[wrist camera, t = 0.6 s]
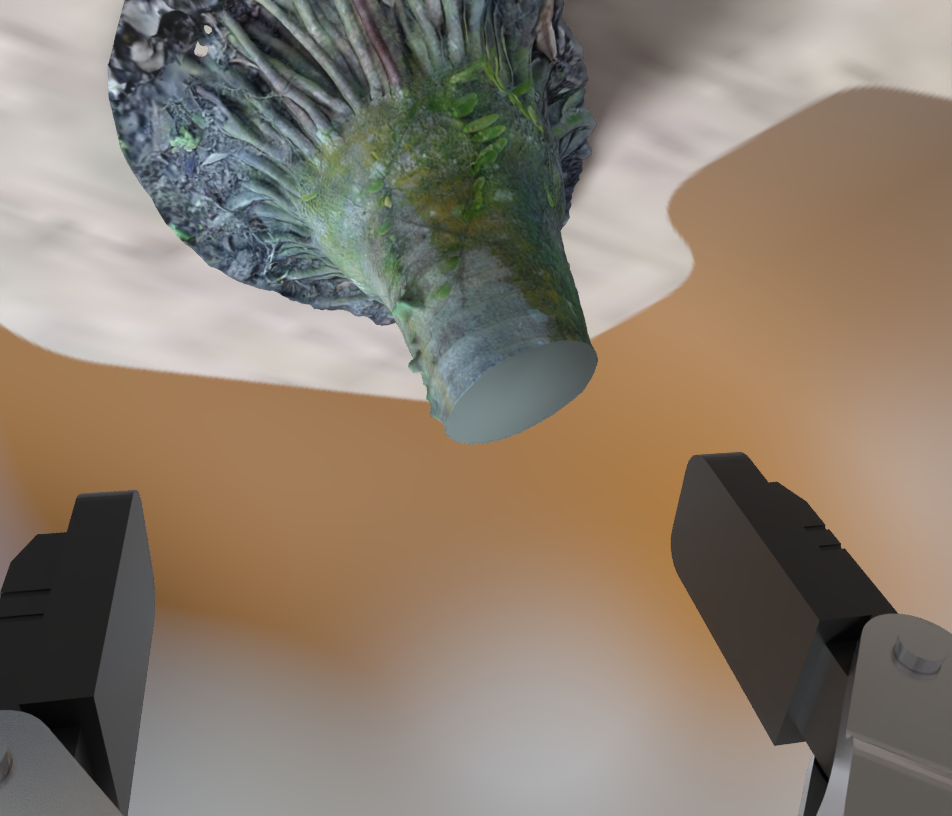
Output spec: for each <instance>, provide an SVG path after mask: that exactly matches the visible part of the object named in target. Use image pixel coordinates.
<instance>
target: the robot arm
mask: <svg viewBox="0 0 952 816" xmlns="http://www.w3.org/2000/svg"><path fill="white" fill-rule="evenodd" d="M671 552H672V559H673V563H674V566H675V569H676V572H677V574H678V576H679V578H680V579H681V581H682V583H683V584H684V586H685V588H686V590H687V592H688V593H689V595H690V597H691V599H692V601H693V602H694V604H695V606H696V608H697V609H698V611H699V613H700V615H701V617H702V618H703V620H704V622H705V624H706V625H707V627H708V629H709V631H710V632H711V634H712V636H713V638H714V640H715V641H716V643H717V645H718V646H719V648H720V650H721V652H722V654H723V656H724V657H725V659H726V661H727V663H728V664H729V666H730V668H731V670H732V671H733V673H734V675H735V677H736V679H737V680H738V682H739V684H740V685H741V687H742V689H743V691H744V693H745V694H746V696H747V698H748V700H749V702H750V703H751V705H752V707H753V709H754V710H755V712H756V714H757V716H758V717H759V719H760V721H761V723H762V725H763V726H764V728H765V730H766V732H767V734H768V735H769V737H770V739H771V740H772V742H773V744H774V745H775V746H776V745H783V744H791V743H798V742H805V741H806V742H807V744H808V746H809V747H810V749H811V751H812V752H813V756H812V758H811V761H810V763H809V766H808V769H807V773H806V779H805V783H804V789H803V793H802V799H801V804H800V809H799V814H798V816H952V634H951V633H950V632H948V631H947V630H945V629H943V628H941V627H940V626H938V625H936V624H934V623H932V622H929V621H927V620H924V619H922V618H918V617H915V616H911V615H905V614H898V613H897V612H896V611H895V609H894V608H893V607H892V606H891V604H890V603H889V602H888V601H887V599H886V598H885V597H884V596H883V595H882V593H881V592H880V591H879V590H878V589H877V587H876V586H875V585H874V584H873V582H872V581H871V580H870V579H869V577H868V576H867V575H866V574H865V573H864V572H863V570H862V569H861V568H860V566H859V565H858V564H857V563H856V562H855V560H854V559H853V558H852V557H851V555H850V554H849V553H848V552H847V551H846V549H841V543H840V542H839V541H838V540H837V538H836V537H835V536H834V535H833V534H832V532H831V531H830V530H829V529H828V530H826V529H825V524H824V523H823V521H822V520H821V519H820V518H819V517H818V515H817V514H816V513H815V512H814V510H813V509H812V508H811V507H810V505H809V504H808V503H807V502H806V501H805V500H803V499H802V498H800V497H799V496H797V495H796V494H794V493H793V492H791V491H790V490H788V489H787V488H786V487H784V486H783V485H781V484H780V483H778V482H770V483H768V481H767V480H766V479H765V477H764V476H763V475H762V474H761V472H760V471H759V470H758V469H757V467H756V466H755V465H754V464H753V462H752V461H751V460H750V458H749V457H748V456H747V455H746V454H744V453H742V452H734V453H717V454H703V455H694V456H693V457H691V459H690V460H689V462H688V464H687V468H686V472H685V476H684V481H683V485H682V489H681V494H680V498H679V502H678V507H677V511H676V516H675V520H674V524H673V529H672V534H671ZM0 595H1V597H0V816H127V815H128V808H129V801H130V794H131V786H132V779H133V772H134V765H135V756H136V750H137V742H138V735H139V728H140V721H141V713H142V706H143V698H144V691H145V684H146V677H147V670H148V662H149V655H150V648H151V640H152V633H153V626H154V617H155V586H154V576H153V569H152V563H151V557H150V551H149V545H148V539H147V533H146V527H145V520H144V514H143V509H142V502H141V498H140V495H139V492H138V491H137V490H128V491H113V492H99V493H82V494H79V495H78V496H77V498H76V501H75V505H74V509H73V513H72V516H71V519H70V523H69V526H68V530H67V532H64V533H51V534H38V535H36V536H35V537H34V538H33V539H32V541H30V543H29V544H28V545H27V546H26V547H25V548H24V549H23V550H22V551H21V552H20V553H19V554H18V555H17V556H16V557H15V558H14V559H13V560H12V562H11V563H10V566H9V569H8V572H7V575H6V577H5V581H4V583H3V587H2V589H1V592H0Z"/></svg>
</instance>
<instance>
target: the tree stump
mask: <svg viewBox="0 0 952 816" xmlns="http://www.w3.org/2000/svg"><path fill="white" fill-rule="evenodd" d="M563 5H564V1H563V0H125V1H124V5H123V8H122V12H121V16H120V20H119V24H118V27H117V31H116V36H115V40H114V45H113V49H112V53H111V57H110V61H109V64H108V89H109V100H110V104H111V108H112V113H113V117H114V121H115V125H116V130H117V134H118V138H119V143H120V148H121V150H122V152H123V154H124V157H125V159H126V161H127V163H128V164H129V166H130V168H131V170H132V171H133V173H134V174H135V176H136V177H137V179H138V181H139V182H140V184H141V185H142V186H143V188H144V189H145V190H146V192H147V193H148V194H149V195H150V197H151V198H152V200H153V202H154V204H155V206H156V208H157V210H158V211H159V213H160V215H161V216H162V218H163V219H164V221H165V223H166V224H167V225H168V226H169V227H170V228H171V229H172V230H173V231H174V232H175V233H176V235H177V236H178V237H179V238H180V239H181V240H182V241H183V242H184V243H185V244H186V245H188V246H189V247H191V248H192V249H193V250H194V251H195V252H196V253H197V254H198V255H199V256H200V257H202V258H203V260H204V261H205V262H206V263H207V264H208V265H209V266H211V267H214V268H217V269H219V270H221V271H222V272H223V273H225V274H226V275H228V276H229V277H231V278H233V279H235V280H237V281H239V282H242V283H244V284H248V285H251V286H254V287H256V288H259V289H264V290H269V291H271V290H273V291H275V292H278V293H280V294H281V295H282V296H285V297H287V298H289V299H290V300H292V301H298V302H300V303H303V304H310V305H311V306H312V307H313V308H314V309H320V310H324V309H327V310H337V309H340V310H346V311H349V312H351V313H352V314H354V315H355V316H366V317H368V318H370V319H371V320H372V321H373V322H374V323H375V324H376V325H381V326H382V325H390V324H393V323H395V322H396V324H397V325H398V327H399V328H400V330H401V332H402V334H403V337H404V340H405V342H406V345H407V347H408V348H409V351H410V353H411V355H412V357H413V360H411V362H410V363H409V365H408V367H409V369H410V370H412V372H413V373H421V375H422V379H423V385H425V386H426V387H427V397H426V399H427V400H429V402H430V404H431V411H430V416H431V417H434V418H436V419H437V420H439V421H440V422H442V424H443V425H444V428H445V433H446V435H447V436H448V437H450V438H451V439H453V440H454V441H457V442H460V443H465V444H479V443H489V442H494V441H498V440H501V439H504V438H508V437H510V436H512V435H515V434H517V433H520V432H522V431H524V430H526V429H528V428H530V427H532V426H534V425H536V424H538V423H540V422H541V421H543V420H545V419H546V418H548V417H550V416H551V415H553V414H554V413H556V412H557V411H559V410H560V409H561V408H563V407H564V406H565V405H567V404H568V403H569V402H571V401H572V400H573V399H575V398H576V397H577V396H578V395H579V394H580V393H582V392H583V390H584V389H585V388H586V386H587V384H588V383H589V381H590V379H591V378H592V375H593V374H594V371H595V369H596V366H597V362H598V358H597V354H596V352H595V350H594V348H593V346H592V344H591V342H590V339H589V335H588V333H587V327H586V323H585V318H584V315H583V311H582V308H581V305H580V300H579V296H578V291H577V289H576V287H575V283H574V279H573V276H572V274H571V271H570V264H569V263H568V262H567V258H566V254H565V251H564V245H563V241H562V237H561V229H562V227H563V226H564V225H565V224H566V223H567V221H568V219H569V218H570V216H569V209H570V207H571V203H570V200H571V199H572V193H573V189H574V186H575V185H576V183H577V182H578V181H579V174H580V173H581V172H582V164H583V160H584V159H586V158H588V157H589V156H590V155H591V153H592V150H591V148H590V146H589V144H588V142H587V138H588V136H589V135H590V134H591V133H592V129H593V128H594V127H595V126H596V122H595V120H594V119H593V117H592V115H591V113H590V112H589V111H588V109H587V108H586V107H585V106H584V94H585V92H586V91H585V89H584V87H585V83H586V82H587V81H588V77H587V69H586V67H585V65H584V63H583V57H584V54H583V49H582V46H581V43H580V42H579V41H578V40H577V39H576V38H575V36H574V35H573V34H572V32H571V30H570V29H569V27H568V26H567V25H566V23H565V22H564V21H563V20H562V19H561V14H562V10H563ZM204 25H207V26H209V27H211V28H212V32H211V33H210V34H207V33H205V30H204ZM198 41H199V44H200V45H201V46H208V49H209V50H208V53H207V55H206V56H204V57H198V56H196V55H194V50H195V47H196V44H197V42H198Z"/></svg>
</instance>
